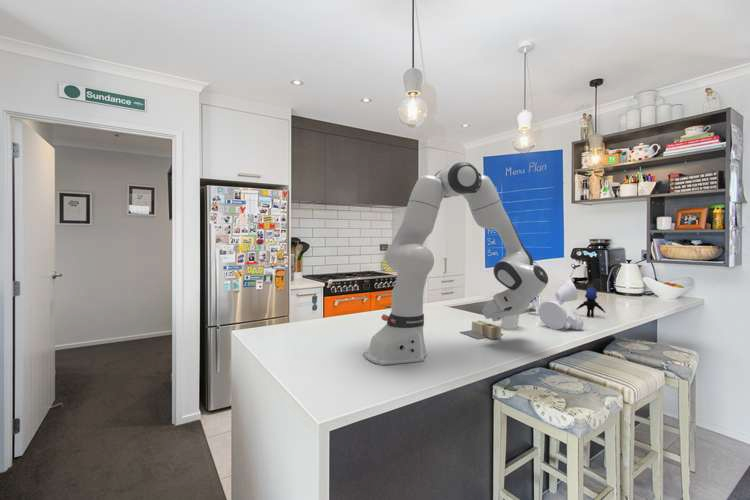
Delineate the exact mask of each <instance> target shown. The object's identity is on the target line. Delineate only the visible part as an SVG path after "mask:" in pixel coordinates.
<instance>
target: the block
mask: <svg viewBox="0 0 750 500" xmlns="http://www.w3.org/2000/svg"><path fill="white" fill-rule="evenodd" d="M471 330H472V332H473V333H476V334H479V335H482V336H485V337H488V339H491V340H496V339H501V338H502V335H501V334H502V326H500V325H497V324H493V323H489V322H485V321H483V320H475V321H471Z"/></svg>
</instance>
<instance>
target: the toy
mask: <svg viewBox="0 0 750 500" xmlns="http://www.w3.org/2000/svg"><path fill="white" fill-rule="evenodd" d="M585 292H586V293H585V295H584V298H586V300H585V301H583V302H582V303H581V304H580V305H579V306H577V308H576V311H577V310H579V309H582V308H583V307H585V306H586V309H587V311H586V317H588V318H590V317H591V318H594V317H595V313H594V310H595V308H597V309H599V310H600V311H602V312H603V313H606V311H605V310H604V308H603V307H602V306H601V305H600V304H599V302H597V301H596V300H597V299H598V295H597V293H598V291H597V289H596V288H595V287H587V288H586V290H585Z"/></svg>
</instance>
